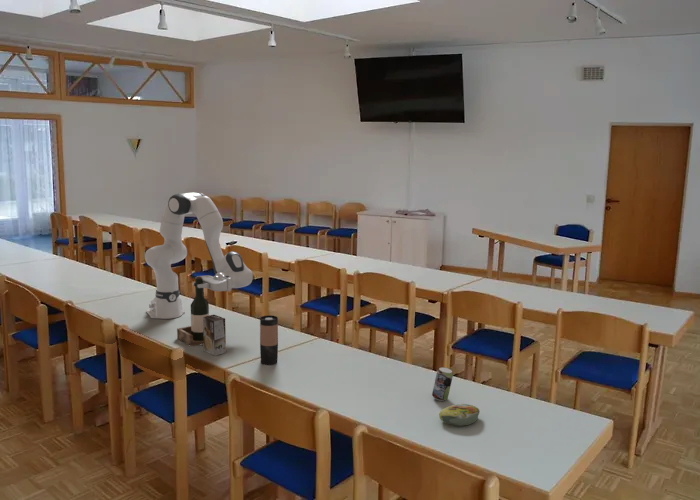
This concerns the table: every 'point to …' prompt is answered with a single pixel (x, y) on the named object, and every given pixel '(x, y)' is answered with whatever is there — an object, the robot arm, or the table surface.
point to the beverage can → (442, 384)
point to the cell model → (459, 414)
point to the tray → (187, 336)
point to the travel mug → (269, 339)
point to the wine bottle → (198, 312)
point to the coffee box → (214, 334)
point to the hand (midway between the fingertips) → (195, 285)
